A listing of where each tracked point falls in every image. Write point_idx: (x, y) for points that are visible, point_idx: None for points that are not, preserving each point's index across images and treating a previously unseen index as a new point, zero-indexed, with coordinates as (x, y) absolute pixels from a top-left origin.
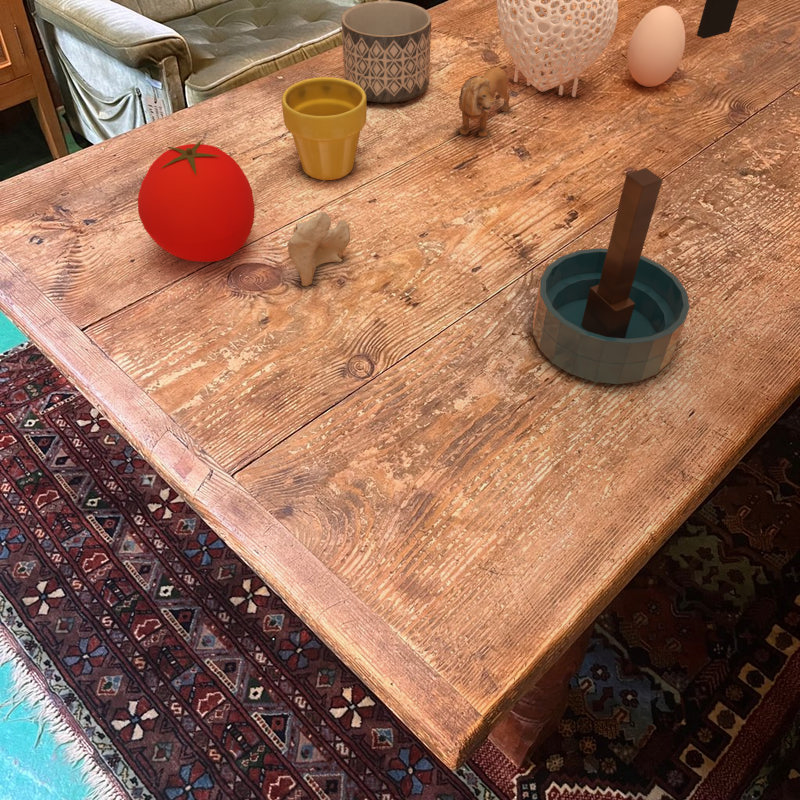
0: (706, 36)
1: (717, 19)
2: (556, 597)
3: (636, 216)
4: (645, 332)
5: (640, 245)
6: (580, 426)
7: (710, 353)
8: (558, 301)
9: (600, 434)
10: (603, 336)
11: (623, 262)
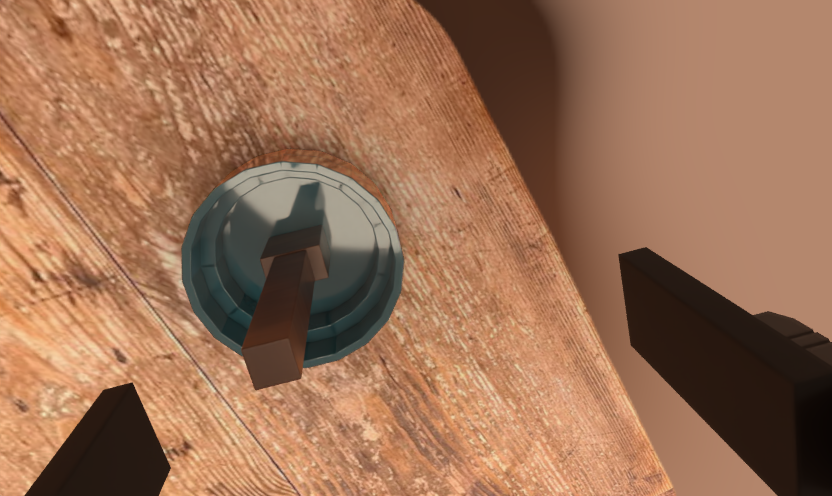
0: (166, 463)
1: (143, 470)
2: (611, 412)
3: (304, 345)
4: (312, 188)
5: (301, 292)
6: (438, 324)
7: (365, 110)
8: (237, 293)
9: (455, 308)
10: (380, 320)
11: (310, 307)
